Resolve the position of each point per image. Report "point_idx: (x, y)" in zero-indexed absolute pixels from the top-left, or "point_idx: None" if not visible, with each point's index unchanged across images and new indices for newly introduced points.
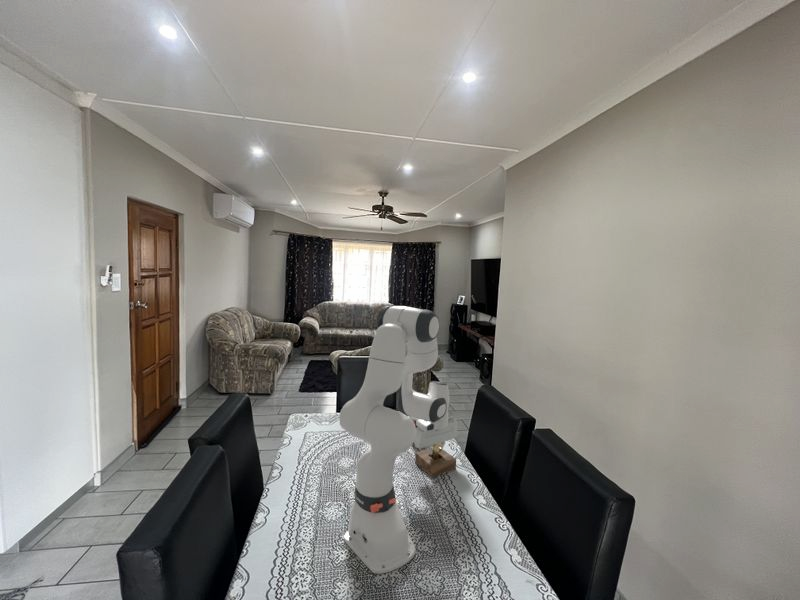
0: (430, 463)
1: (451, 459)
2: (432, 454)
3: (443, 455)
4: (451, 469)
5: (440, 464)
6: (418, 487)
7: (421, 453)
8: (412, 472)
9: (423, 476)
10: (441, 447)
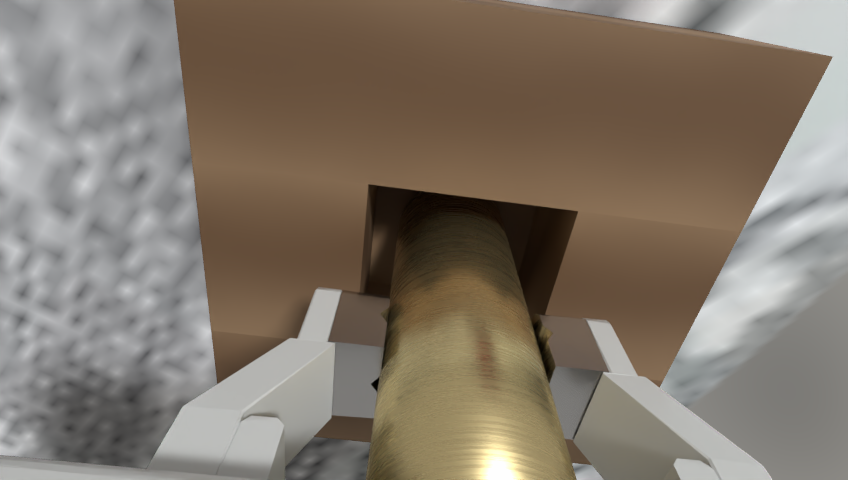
0: (247, 362)
1: (566, 443)
2: (391, 293)
3: None
4: None
5: (355, 436)
6: (50, 357)
7: (280, 74)
8: (86, 151)
9: (183, 277)
10: (580, 437)
